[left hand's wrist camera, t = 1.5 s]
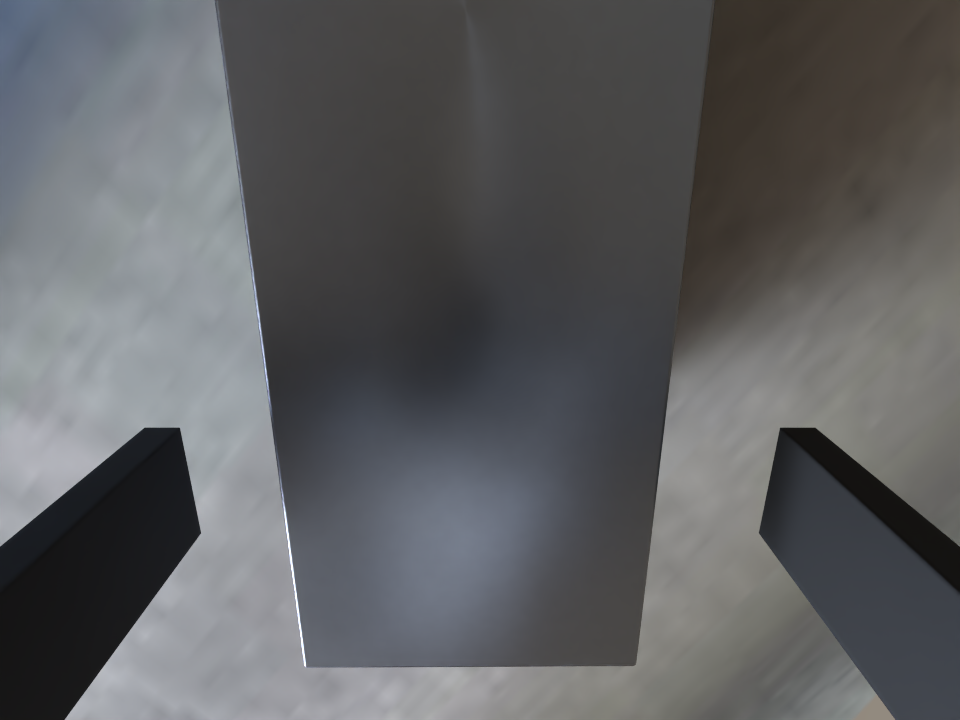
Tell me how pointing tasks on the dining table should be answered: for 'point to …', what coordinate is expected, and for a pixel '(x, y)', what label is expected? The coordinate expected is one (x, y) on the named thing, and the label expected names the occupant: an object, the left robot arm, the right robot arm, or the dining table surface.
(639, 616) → the long box
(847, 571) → the left robot arm
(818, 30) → the dining table surface
